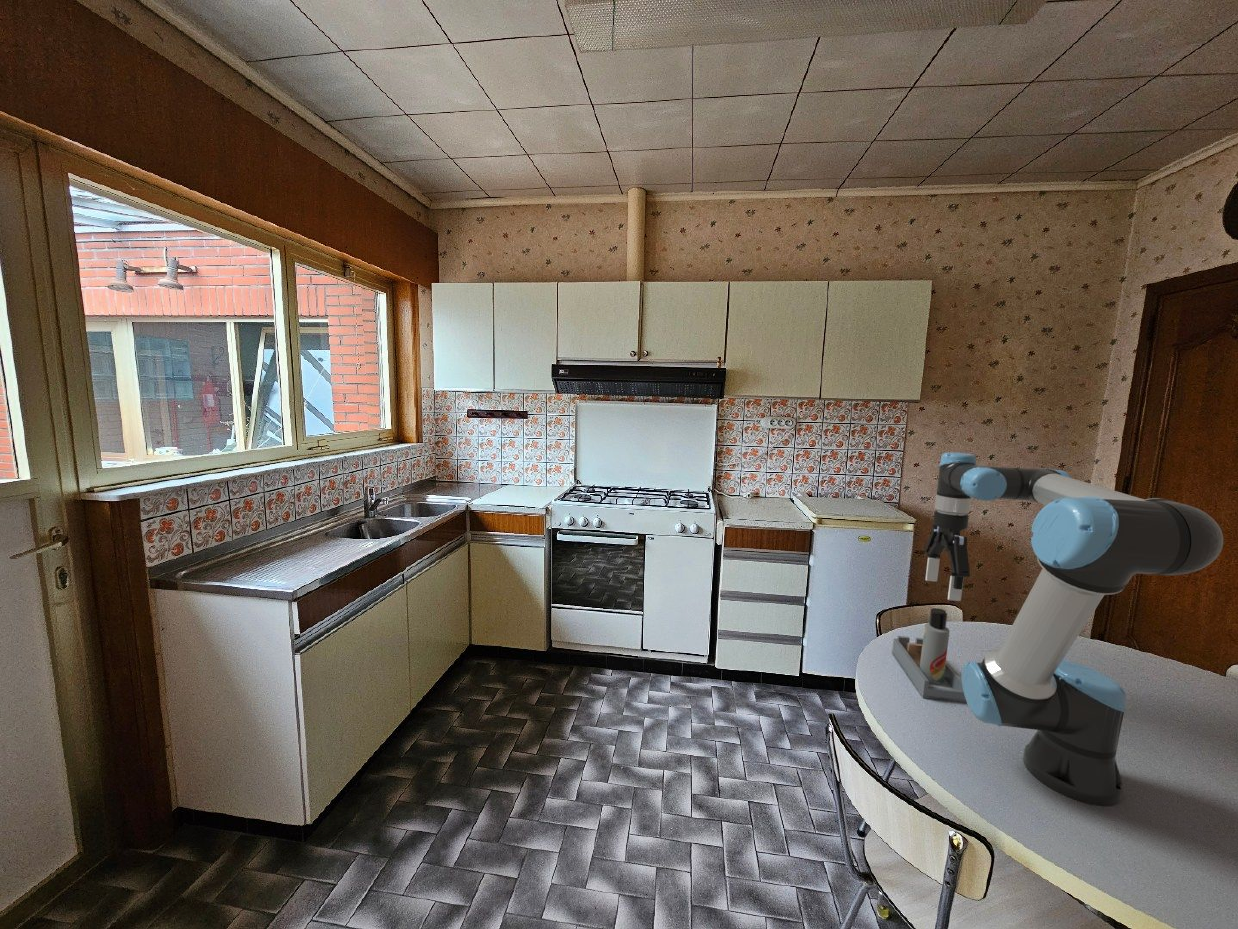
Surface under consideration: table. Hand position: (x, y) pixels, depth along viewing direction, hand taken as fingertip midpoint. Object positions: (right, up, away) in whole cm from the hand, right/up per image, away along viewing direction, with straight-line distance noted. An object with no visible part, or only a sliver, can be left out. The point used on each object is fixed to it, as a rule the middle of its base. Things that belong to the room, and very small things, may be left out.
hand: (942, 590), depth 133 cm
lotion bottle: (-1, -26, +4) cm, 26 cm away
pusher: (+1, -24, +14) cm, 27 cm away
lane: (0, -26, +7) cm, 27 cm away
